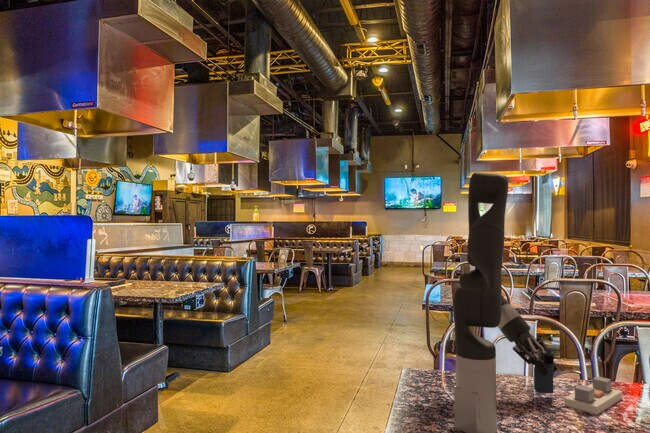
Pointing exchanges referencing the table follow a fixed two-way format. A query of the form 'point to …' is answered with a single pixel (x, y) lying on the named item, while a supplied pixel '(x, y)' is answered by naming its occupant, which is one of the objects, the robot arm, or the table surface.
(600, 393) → the key mid
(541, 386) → the vaping device
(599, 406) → the keypad base
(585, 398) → the key left
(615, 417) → the table surface
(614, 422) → the table surface
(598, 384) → the key right
